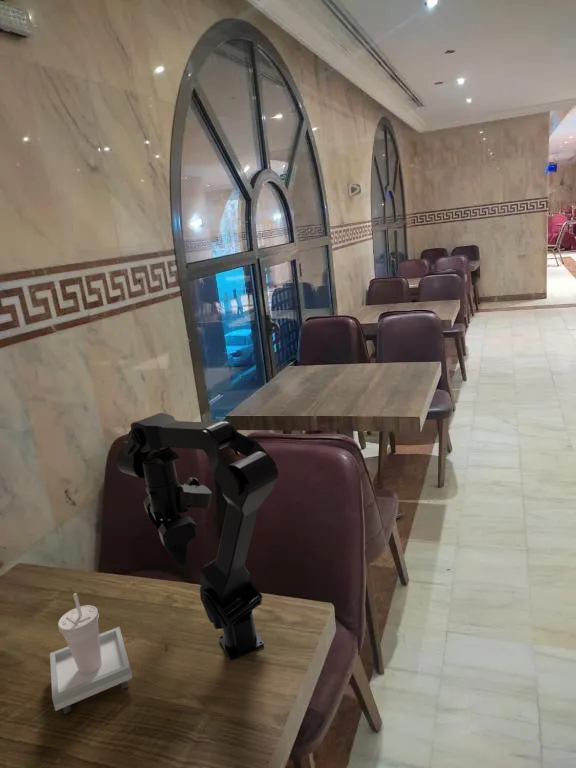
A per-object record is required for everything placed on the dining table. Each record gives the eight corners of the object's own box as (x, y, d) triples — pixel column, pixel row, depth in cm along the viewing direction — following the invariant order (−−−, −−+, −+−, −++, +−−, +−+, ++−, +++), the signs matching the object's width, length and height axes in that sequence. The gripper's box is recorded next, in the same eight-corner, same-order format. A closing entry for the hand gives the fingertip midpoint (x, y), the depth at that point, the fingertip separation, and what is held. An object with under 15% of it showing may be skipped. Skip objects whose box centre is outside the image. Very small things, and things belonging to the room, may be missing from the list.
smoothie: (97, 681, 88) (77, 606, 85) (62, 679, 90) (42, 606, 86) (117, 653, 94) (99, 582, 91) (84, 652, 96) (66, 582, 93)
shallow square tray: (135, 688, 90) (130, 666, 89) (58, 721, 85) (52, 699, 84) (124, 646, 100) (119, 626, 99) (55, 673, 96) (49, 653, 95)
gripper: (218, 484, 96) (232, 563, 99) (190, 456, 112) (203, 524, 116) (155, 503, 91) (172, 584, 95) (136, 471, 108) (151, 541, 111)
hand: (177, 555), depth 104 cm, fingers open, 9 cm apart
